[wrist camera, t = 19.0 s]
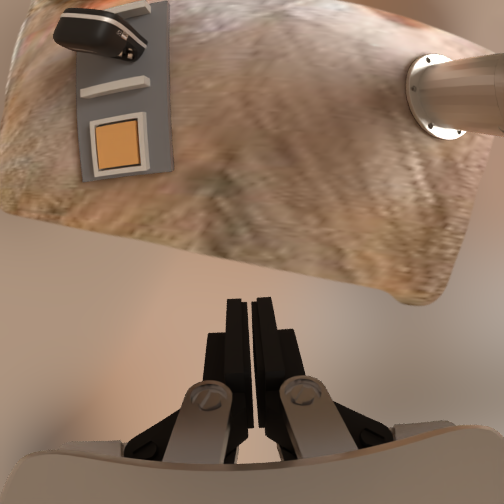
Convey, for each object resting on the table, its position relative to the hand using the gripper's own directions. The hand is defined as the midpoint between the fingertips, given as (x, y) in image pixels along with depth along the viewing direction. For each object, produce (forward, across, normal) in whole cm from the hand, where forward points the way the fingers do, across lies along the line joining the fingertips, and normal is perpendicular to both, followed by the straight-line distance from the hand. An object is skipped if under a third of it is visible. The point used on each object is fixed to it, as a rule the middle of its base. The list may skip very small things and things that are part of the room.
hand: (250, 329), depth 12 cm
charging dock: (+27, +14, -14) cm, 34 cm away
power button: (+25, +14, -7) cm, 30 cm away
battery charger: (+26, +14, -19) cm, 35 cm away
